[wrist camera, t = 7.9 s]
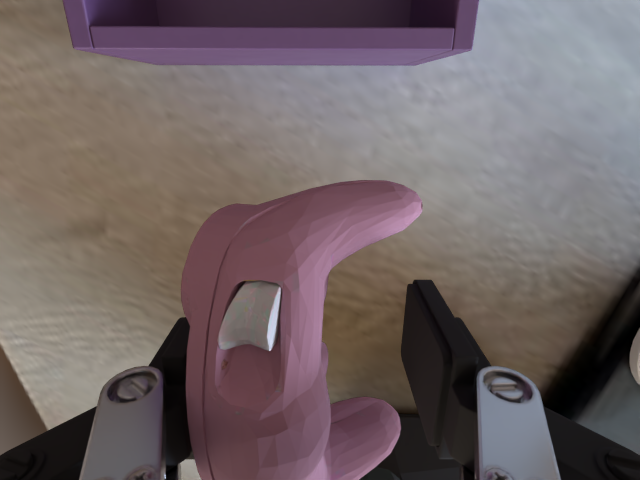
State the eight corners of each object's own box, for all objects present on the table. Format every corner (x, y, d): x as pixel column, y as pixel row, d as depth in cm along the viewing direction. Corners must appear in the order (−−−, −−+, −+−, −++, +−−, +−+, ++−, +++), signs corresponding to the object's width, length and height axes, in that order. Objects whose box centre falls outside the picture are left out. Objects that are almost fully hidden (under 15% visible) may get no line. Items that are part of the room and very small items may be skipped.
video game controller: (295, 162, 12) (100, 221, 7) (433, 172, 10) (330, 269, 5) (302, 388, 16) (181, 556, 10) (406, 427, 14) (329, 661, 8)
